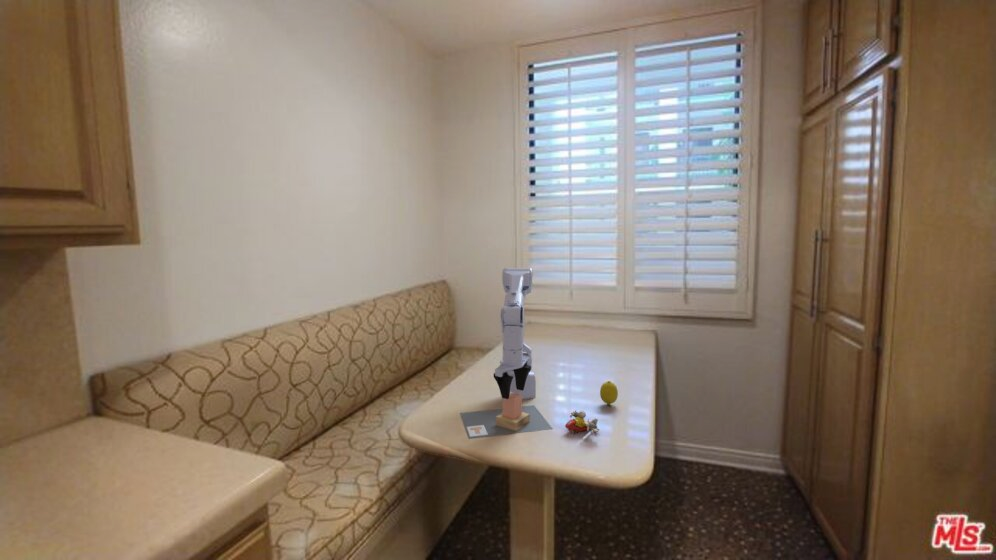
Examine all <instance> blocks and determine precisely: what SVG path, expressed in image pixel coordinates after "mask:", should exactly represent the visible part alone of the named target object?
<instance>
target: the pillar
mask: <svg viewBox="0 0 996 560" xmlns="http://www.w3.org/2000/svg"><path fill="white" fill-rule="evenodd" d="M522 406H523V399H522V394H518V393H514V392H510V396H509V399H505V398H502V408H503V416H505V417H508V418H512V419H515V418H517V417H519V416H520V415H522Z"/></svg>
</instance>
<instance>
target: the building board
mask: <svg viewBox="0 0 996 560" xmlns="http://www.w3.org/2000/svg"><path fill="white" fill-rule="evenodd" d="M522 412H524V413H528V414H530V422H529V423H528V424H526V425H525V426H523V427H522V428H520V429H519V430H517V431H514V430H511V429H508V428H505V427H502V426H499V425H496V416H498V415H500V414H501V413H503V407H502V408H495V409H494V408H493V409H485V410H475V411H466V412H459V414H460V417H461V420H462V423H463V426H464V429H465V432H466V435H467V438H468V439H469V440H471V439H472V440H473V439H481V438H489V437H496V436H497V437H498V436H506V435H512V434H514V435H515V434H522V433H529V432H531V433H532V432H538V431H547V430H553V428H554V427H552V425H550V424H549V422H548V420H547V419H545V417H544V416H543V414H542V413H541V412H540V411H539V409H538V408H537V407H536V406H535V405H534V404H533V405H531V404H530V405H522Z"/></svg>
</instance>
